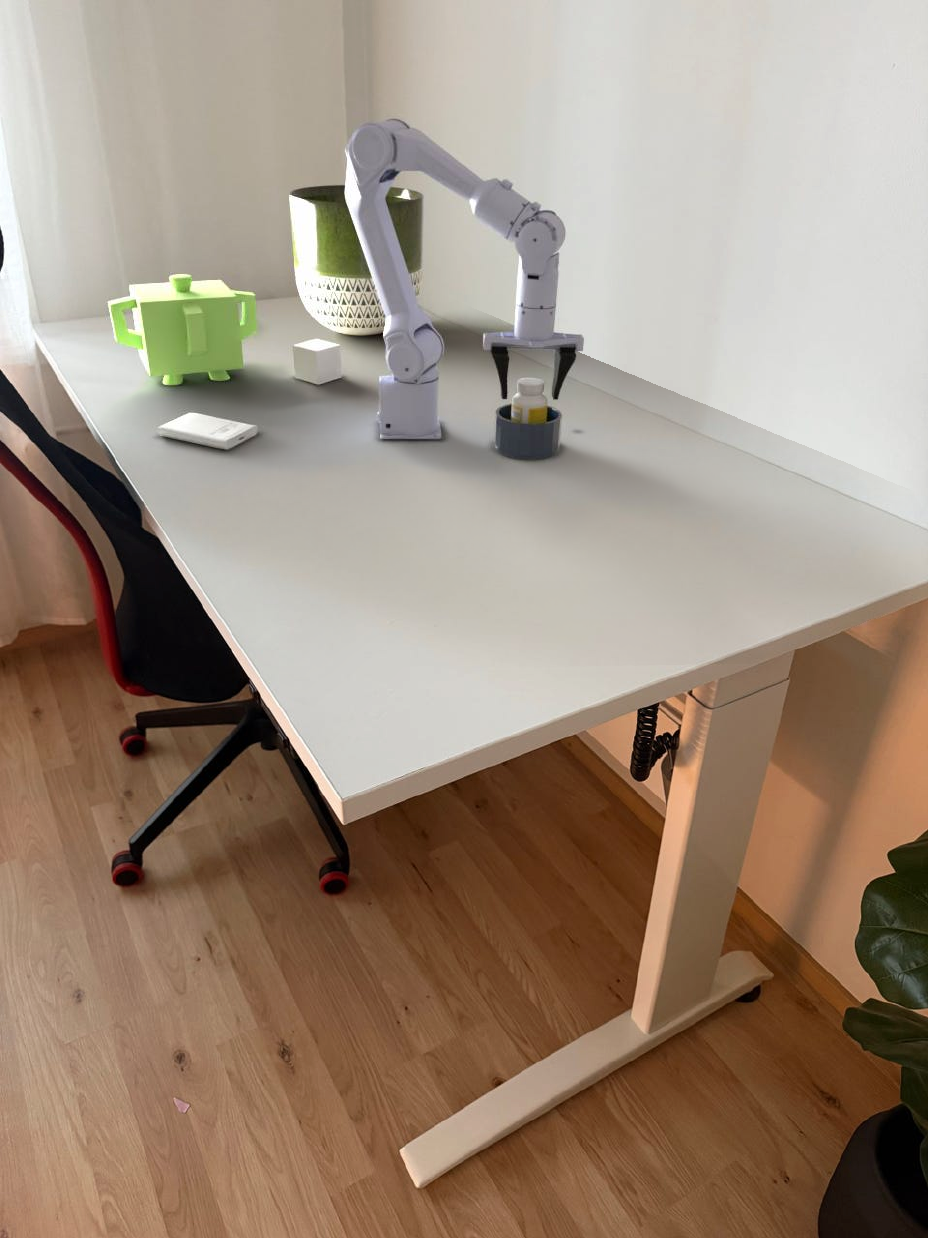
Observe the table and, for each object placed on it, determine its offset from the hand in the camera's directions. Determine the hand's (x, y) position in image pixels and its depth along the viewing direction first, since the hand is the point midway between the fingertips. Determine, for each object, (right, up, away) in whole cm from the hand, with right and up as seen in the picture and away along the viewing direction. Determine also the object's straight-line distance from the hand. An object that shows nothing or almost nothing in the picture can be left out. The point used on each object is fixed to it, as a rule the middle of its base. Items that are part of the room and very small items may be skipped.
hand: (529, 397), depth 142 cm
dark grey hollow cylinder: (0, -7, +4) cm, 8 cm away
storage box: (-60, +12, +31) cm, 68 cm away
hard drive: (-49, -5, +5) cm, 50 cm away
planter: (-32, +28, +60) cm, 74 cm away
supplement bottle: (0, -6, +4) cm, 8 cm away
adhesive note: (-37, +11, +31) cm, 49 cm away
